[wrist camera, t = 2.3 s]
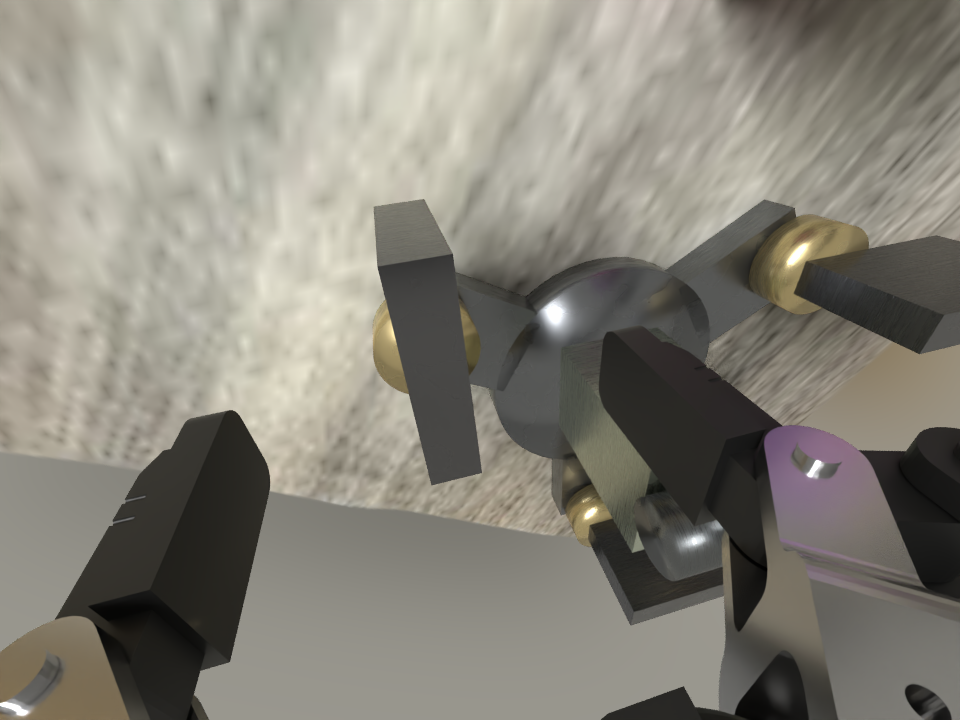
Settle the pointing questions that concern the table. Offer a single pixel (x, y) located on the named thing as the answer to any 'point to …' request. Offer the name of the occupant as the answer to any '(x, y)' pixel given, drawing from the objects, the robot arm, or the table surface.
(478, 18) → the table surface
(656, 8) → the table surface
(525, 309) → the tribrach
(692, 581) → the knob
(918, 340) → the knob
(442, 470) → the grey upright plank
